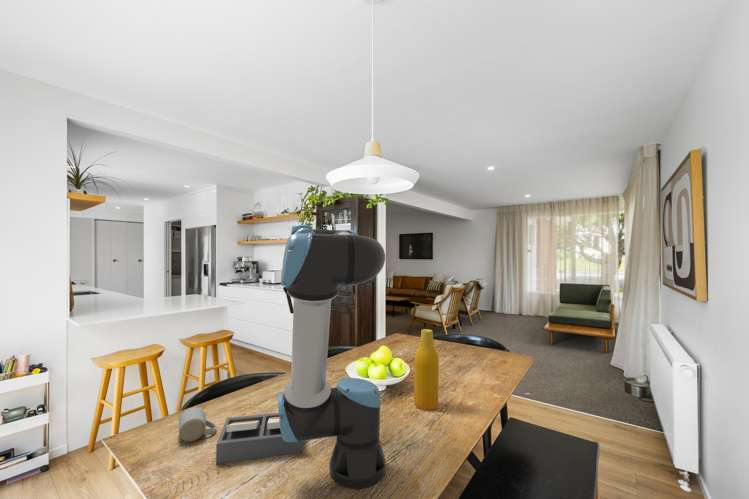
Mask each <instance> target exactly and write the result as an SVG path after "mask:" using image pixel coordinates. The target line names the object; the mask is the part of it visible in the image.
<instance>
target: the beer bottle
mask: <svg viewBox="0 0 749 499" xmlns="http://www.w3.org/2000/svg"><path fill="white" fill-rule="evenodd" d="M419 341H420V342H419V345H418V348H417V351H416V353H415V356H414V393H413V396H414V397H413V403H414V406H415V407H416V408H417V409H420V410H421V411H434V410H436V409H437V408H438V406H439V364H440V363H439V362H440V361H439V356H438V353H437V351H436V349H435V343H434V333H433V329H430V328H428V329H427V328H423V329H421V332H420V340H419Z"/></svg>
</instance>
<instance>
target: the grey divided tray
mask: <svg viewBox="0 0 749 499" xmlns="http://www.w3.org/2000/svg"><path fill="white" fill-rule="evenodd" d="M255 420H258V421H259V427H258V428H257V429H250V430H241V431H231V432H226V430H227V425H229V424H232V423H235V422H245V421H255ZM215 445H216V448H215V449H216V450H215V457H216V458H215V464H216V465H220V464H227V463H234V462H235V463H236V462H237V463H238V462H244V461H253V460H259V459H261V460H262V459H269V458H278V457H283V456H291V455H292V456H293V455H300V454H301V455H302V454H303V441H301V442H285V441H284V440H283V439H282V436H281V431H280V423H279V412H273V413H262V414H252V415H240V416H239V415H238V416H232V417H231V416H229V417H227V418H226V420H225V422H224V424H223V427H222V430H221V432H220V435H219V437H218V439H217V441H216V444H215Z"/></svg>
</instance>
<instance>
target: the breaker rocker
mask: <svg viewBox="0 0 749 499" xmlns="http://www.w3.org/2000/svg"><path fill="white" fill-rule="evenodd" d="M258 427H259V421H258V420H255V421H245V422H235V423H232V424H229V425H227V430H226V432H231V431H241V430H250V429H257V428H258Z"/></svg>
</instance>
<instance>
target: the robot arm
mask: <svg viewBox="0 0 749 499" xmlns="http://www.w3.org/2000/svg"><path fill="white" fill-rule="evenodd" d="M283 253H284V254H283V258H282V268H281V277H280V286H283V288H282V290H283V291H284V294H285V297H286V299H287V300H286V301H287V304H288V308H289V314H293V316H292V317H293V318H292V338H291V339H292V342H291V369H290V370H291V372H290V374H291V376H290V381H289V382H288V383H287V384H286V386H285V388H284V391H283V392H281V393H279V395H278V398H277V409H278V413H279V423H280V431H281V436H282V439H283V440H284V441H285V442H301V441H302V442H305V441H313V440H319V439H326V438H331V437H336V440H335V444H334V447H333V449H332V453H331V456H330V459H329V468H328V470H329V475H330V477H331V479H332V480H333V481H334V483H336V484H338V486H342V487H344V488H348V489H365V488H369V487H373V486H374V485H375V484H377V483H379V482H380V481H381V480H382V479H383V478H384V476H385V474H386V457H385V454H384V452H383V446H382V444H381V441H380V426H381V425H380V424H381V423H380V421H381V420H380V419H381V418H380V416H381V415H380V414H381V413H380V412H381V397H380V389H379V388H378V386H377V385H376V384H374V383H373V382H371V381H370V380H367V379H363V378H357V377H345V378H342V379H340V380H338V382H337V384H336V387H331V385H330V382H328V381H327V366H328V351H329V341H330V340H329V338H330V323H331V322H330V321H331V308H332V307H331V306H332V300H333V299H335V298H337V296H338V295H339V292H340V290H339V289H340V286H355V285H356V286H357V285H362V284H365V283H367V282H369V281H371V280H373V279H374V278H375V277H377V276H378V275H379V273H380V272H382V270H383V268H384V265H385V261H386V252H385V249H384V247H383V246H382V244H381V243H380V242H379V241H378V240H376V239H374V238H373V237H369V236H364V235H359V234H358V231H355V230H350V229H346V230H344V229H343V230H342V229H320V228H319V229H316V228H314V229H313V226H311V225H308V224H307V225H306V224H294V225H292V227H291V232H290V235H289V237H288V238H287V240H286V244H285V249H284V252H283ZM292 299H293V300H292Z"/></svg>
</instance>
